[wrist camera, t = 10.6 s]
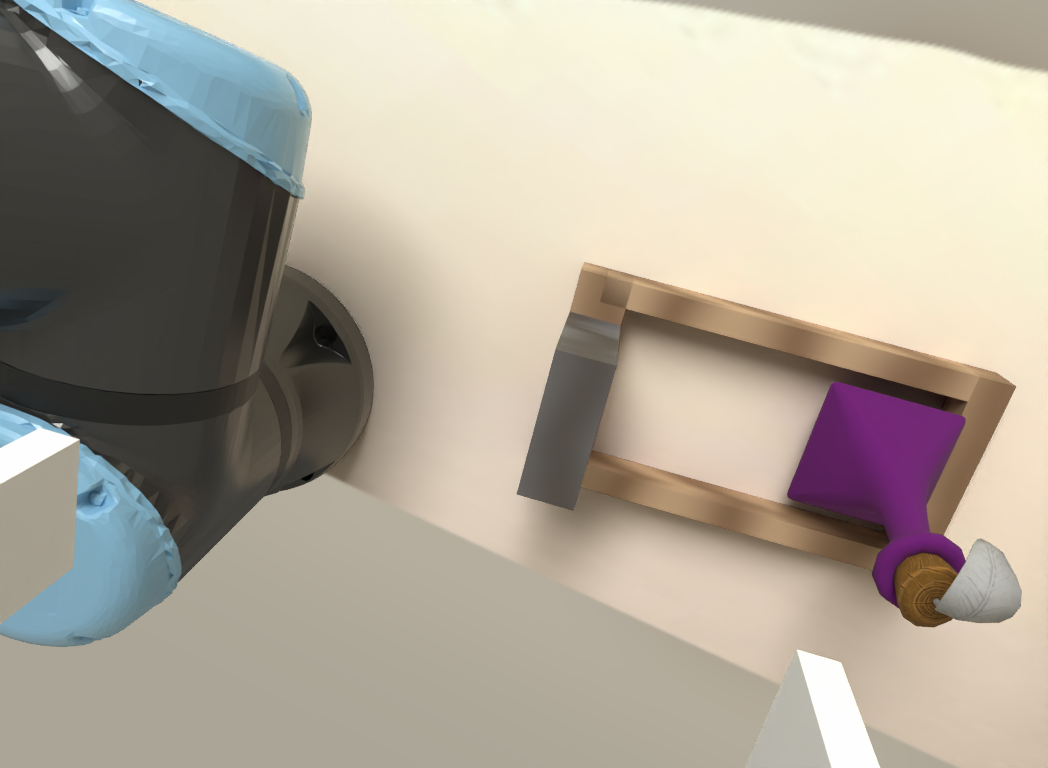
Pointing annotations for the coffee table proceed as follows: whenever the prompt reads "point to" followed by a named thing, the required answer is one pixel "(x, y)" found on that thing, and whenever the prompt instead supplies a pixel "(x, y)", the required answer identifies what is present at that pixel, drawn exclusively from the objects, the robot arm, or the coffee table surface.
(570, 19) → the coffee table surface
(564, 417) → the strip frame
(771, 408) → the coffee table surface
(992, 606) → the perfume bottle
